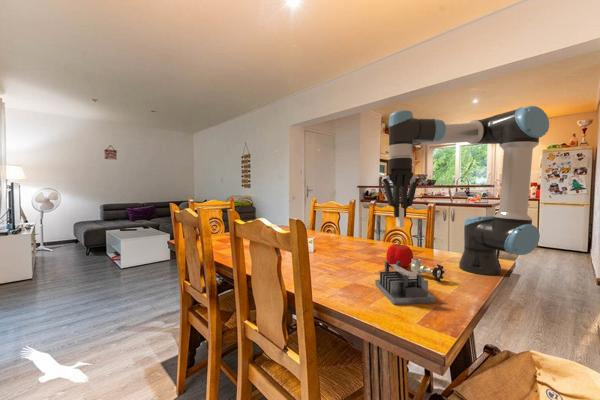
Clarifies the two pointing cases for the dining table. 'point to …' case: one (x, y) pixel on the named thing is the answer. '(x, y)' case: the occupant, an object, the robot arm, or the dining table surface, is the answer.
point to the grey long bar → (404, 271)
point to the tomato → (399, 255)
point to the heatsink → (403, 287)
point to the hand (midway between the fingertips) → (400, 226)
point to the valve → (427, 269)
